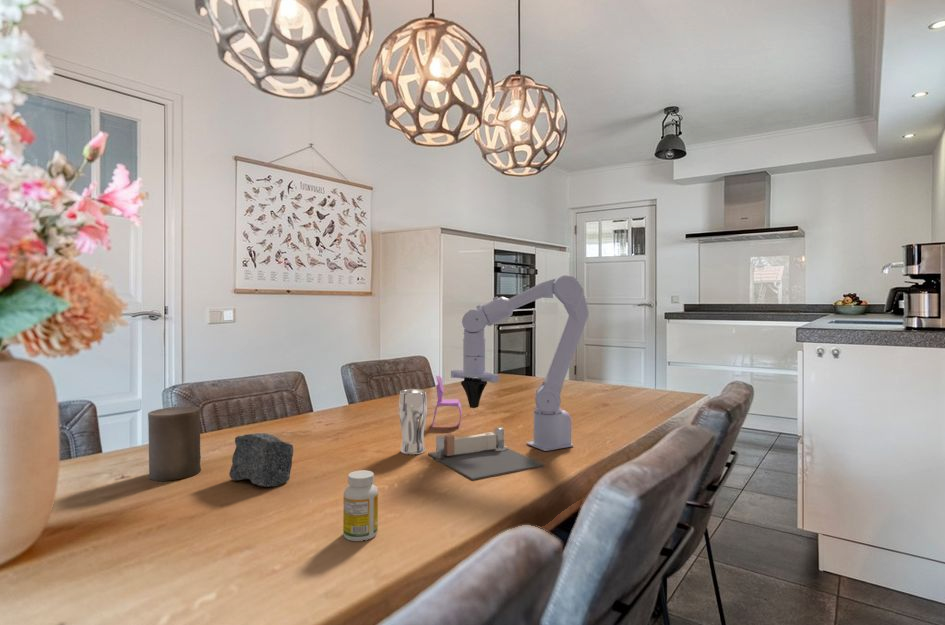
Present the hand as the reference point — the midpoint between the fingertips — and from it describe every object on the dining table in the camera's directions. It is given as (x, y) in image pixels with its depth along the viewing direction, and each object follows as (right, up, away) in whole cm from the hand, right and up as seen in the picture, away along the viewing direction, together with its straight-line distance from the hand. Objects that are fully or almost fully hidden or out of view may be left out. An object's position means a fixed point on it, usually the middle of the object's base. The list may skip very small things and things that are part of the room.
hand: (474, 407), depth 135 cm
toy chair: (-8, -9, +20) cm, 23 cm away
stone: (-44, -10, -30) cm, 54 cm away
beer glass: (-15, -10, -8) cm, 20 cm away
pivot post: (+6, -10, -7) cm, 13 cm away
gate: (-1, -9, -11) cm, 14 cm away
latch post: (-7, -10, -14) cm, 18 cm away
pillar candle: (-64, -10, -25) cm, 70 cm away
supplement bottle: (-18, -10, -54) cm, 58 cm away
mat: (+2, -10, -15) cm, 18 cm away
